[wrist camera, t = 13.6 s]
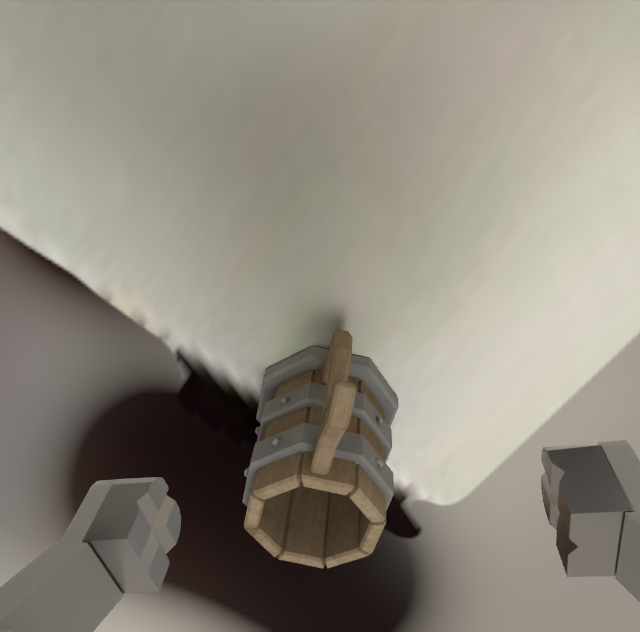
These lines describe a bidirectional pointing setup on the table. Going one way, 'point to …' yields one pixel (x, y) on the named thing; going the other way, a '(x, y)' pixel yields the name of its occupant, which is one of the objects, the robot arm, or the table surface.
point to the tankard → (321, 457)
